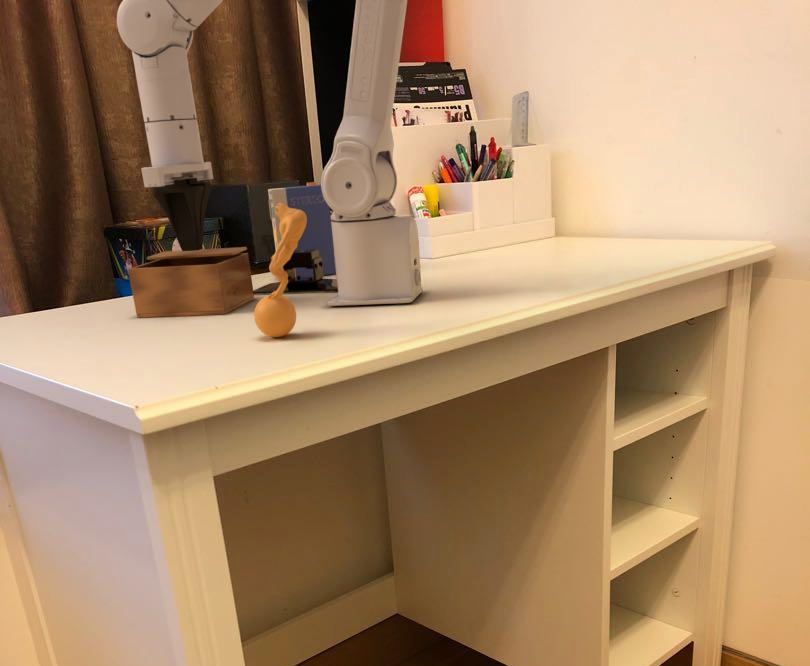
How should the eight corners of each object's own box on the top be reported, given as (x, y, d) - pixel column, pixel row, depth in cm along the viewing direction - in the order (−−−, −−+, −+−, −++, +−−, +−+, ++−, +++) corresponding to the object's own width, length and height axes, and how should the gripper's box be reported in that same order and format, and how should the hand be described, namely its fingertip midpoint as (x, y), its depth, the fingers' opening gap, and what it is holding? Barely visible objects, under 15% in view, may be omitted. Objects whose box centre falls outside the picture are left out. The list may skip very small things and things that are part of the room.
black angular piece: (359, 283, 114) (356, 245, 112) (343, 293, 107) (339, 253, 105) (270, 285, 117) (266, 249, 115) (249, 295, 110) (244, 256, 108)
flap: (147, 259, 103) (146, 257, 102) (164, 254, 107) (163, 251, 107) (232, 255, 101) (232, 252, 100) (247, 249, 105) (246, 246, 105)
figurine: (266, 329, 88) (249, 202, 83) (325, 325, 88) (311, 198, 83) (248, 347, 81) (228, 209, 76) (313, 343, 80) (297, 204, 75)
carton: (137, 317, 101) (127, 269, 98) (172, 302, 109) (164, 257, 107) (225, 314, 98) (217, 264, 96) (254, 298, 107) (248, 252, 105)
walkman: (330, 271, 125) (321, 181, 120) (336, 273, 123) (327, 181, 118) (277, 278, 123) (265, 186, 118) (281, 280, 120) (270, 187, 115)
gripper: (165, 124, 104) (185, 244, 109) (105, 124, 91) (132, 260, 97) (221, 119, 102) (238, 241, 108) (168, 118, 89) (191, 257, 95)
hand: (192, 250), depth 102 cm, fingers closed
